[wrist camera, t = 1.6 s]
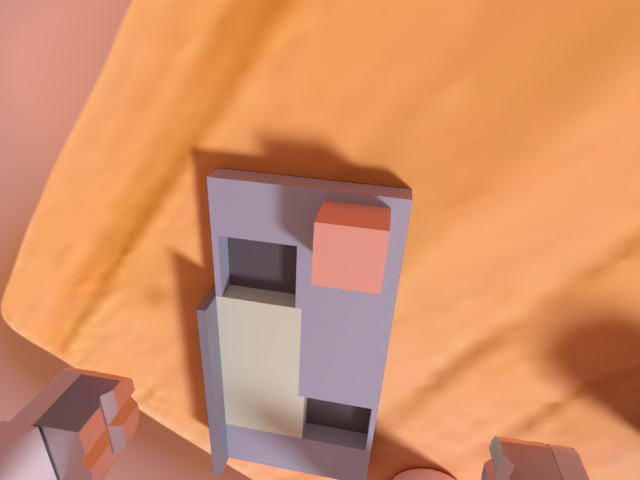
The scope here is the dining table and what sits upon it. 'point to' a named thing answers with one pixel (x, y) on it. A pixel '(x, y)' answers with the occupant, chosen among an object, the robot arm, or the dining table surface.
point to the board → (292, 327)
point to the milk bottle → (422, 475)
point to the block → (350, 246)
